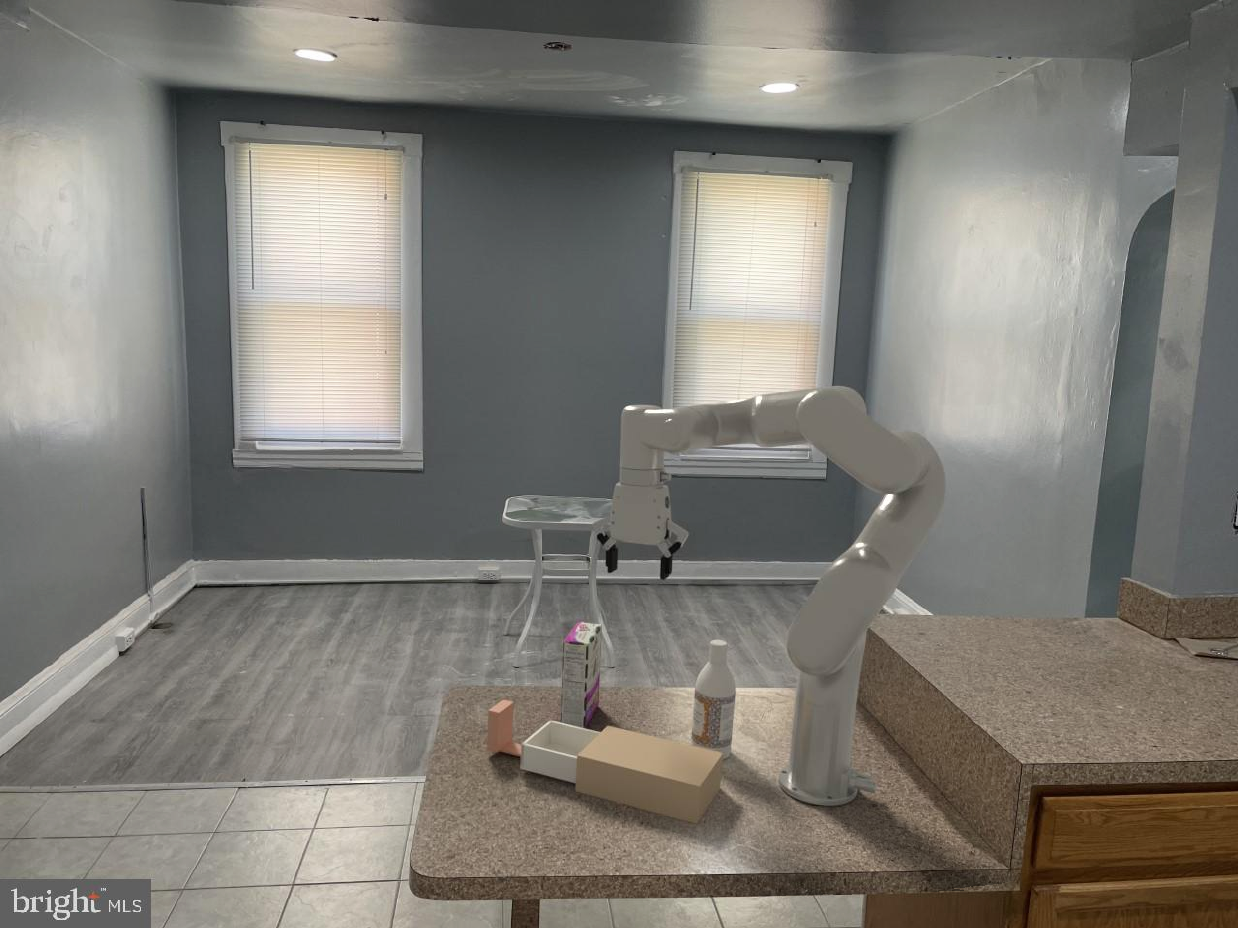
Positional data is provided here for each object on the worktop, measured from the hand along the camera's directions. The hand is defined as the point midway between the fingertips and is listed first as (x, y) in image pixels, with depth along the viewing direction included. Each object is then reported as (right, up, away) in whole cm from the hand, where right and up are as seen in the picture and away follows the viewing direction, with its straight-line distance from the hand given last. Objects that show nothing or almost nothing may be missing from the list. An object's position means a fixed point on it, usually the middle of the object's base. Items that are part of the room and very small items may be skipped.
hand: (638, 574), depth 162 cm
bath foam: (+12, -31, -1) cm, 33 cm away
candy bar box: (-11, -28, +11) cm, 32 cm away
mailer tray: (-12, -30, -9) cm, 33 cm away
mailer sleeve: (+1, -32, -15) cm, 35 cm away
